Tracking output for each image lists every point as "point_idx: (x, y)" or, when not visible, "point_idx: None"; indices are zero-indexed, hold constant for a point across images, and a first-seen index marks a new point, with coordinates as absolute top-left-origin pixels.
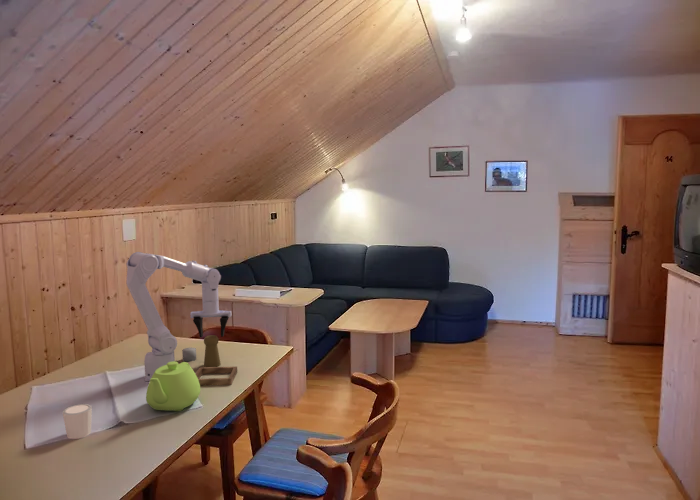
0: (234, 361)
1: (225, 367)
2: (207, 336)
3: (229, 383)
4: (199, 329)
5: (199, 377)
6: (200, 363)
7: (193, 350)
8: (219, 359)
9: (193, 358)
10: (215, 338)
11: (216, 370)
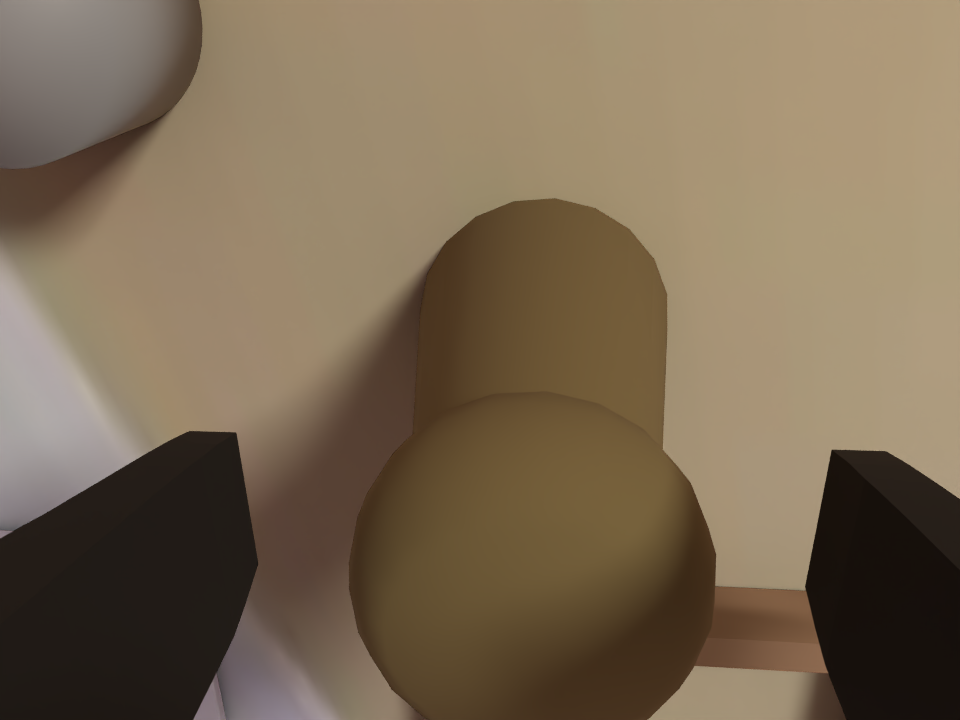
0: (889, 182)
1: (784, 661)
2: (430, 661)
3: None
4: None
5: None
6: (342, 229)
7: (96, 100)
8: (665, 365)
9: (167, 96)
10: (661, 700)
11: None
